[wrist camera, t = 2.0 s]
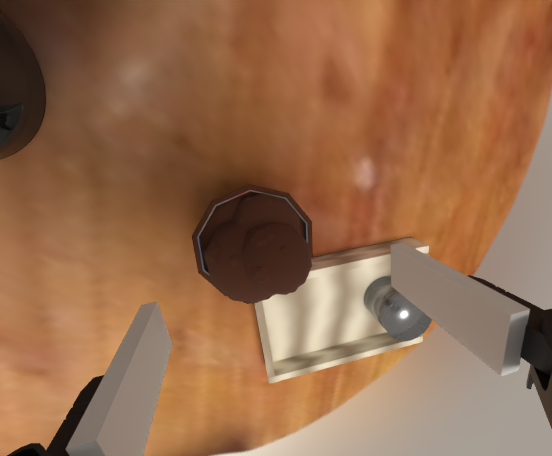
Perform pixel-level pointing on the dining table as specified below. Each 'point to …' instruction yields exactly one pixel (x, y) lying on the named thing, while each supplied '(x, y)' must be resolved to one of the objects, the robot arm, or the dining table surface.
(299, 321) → the cream rectangular tray
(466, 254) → the dining table surface
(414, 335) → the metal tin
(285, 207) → the ice cream bowl
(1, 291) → the dining table surface
